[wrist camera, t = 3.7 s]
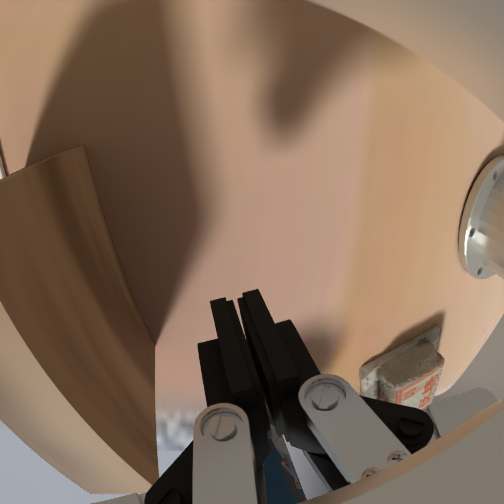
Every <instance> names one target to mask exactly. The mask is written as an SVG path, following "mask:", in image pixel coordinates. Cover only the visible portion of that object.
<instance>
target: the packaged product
mask: <svg viewBox="0 0 504 504" xmlns="http://www.w3.org/2000/svg"><path fill="white" fill-rule="evenodd" d="M440 332H441V327H440V326H439V325H435V326H433V327H432V328H430V329H428V330H427V331H425V332H423V333H422V334H420V335H418V336H416V337H415V338H413V339H411V340H409V341H408V342H406V343H404V344H402V345H401V346H399V347H397V348H396V349H394V350H392V351H390V352H388V353H386V354H384V355H382V356H380V357H379V358H377V359H375V360H373V361H371V362H369V363H367V364H365V365H363V366H361V367H360V368H359V374H360V395H361V396H365V397H369V398H373V399H377V400H382V401H386V402H391V403H395V404H400V405H404V406H409V407H414V408H418V409H421V410H422V409H425V408H427V406H428V405H430V404H431V403H432V400H433V397H434V393H435V391H436V388H437V385H438V381H439V378H440V375H441V371H442V368H443V365H444V358H443V357H442V356H441V354H440V353H438V352H437V348H438V343H439V337H440Z"/></svg>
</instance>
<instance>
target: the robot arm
mask: <svg viewBox="0 0 504 504" xmlns="http://www.w3.org/2000/svg"><path fill="white" fill-rule="evenodd" d="M459 256H460V260H461V264H462V266H463V268H464V269H465V271H467V272H468V273H469V274H470V275H471V276H473V277H474V278H476V279H485V278H489V277H490V276H492V275H494V274H497V275H499V276H500V277H502V278H503V279H504V155H500V156H498V157H496V158H494V159H493V160H492V161H490V162H489V163H488V164H487V165H486V166H485V168H484V169H483V170H482V171H481V173H480V174H479V176H478V178H477V179H476V181H475V183H474V185H473V187H472V189H471V192H470V194H469V196H468V199H467V202H466V205H465V208H464V212H463V216H462V220H461V226H460V232H459ZM242 295H243V297H242V298H238V305H239V309H240V314H241V318H242V323H243V327H244V332H245V336H246V339H245V336H244V333H243V330H242V327H241V324H240V321H239V318H238V315H237V312H236V309H235V306H234V303H233V300H230V301H226V298H225V297H224V298H220V299H216V300H212V301H210V304H211V309H212V314H213V318H214V323H215V327H216V332H217V336H218V339H214V340H210V341H206V342H202V343H198V353H199V360H200V366H201V372H202V378H203V384H204V390H205V396H206V402H207V408H205V409H204V410H203V411H202V412H201V413H200V414H199V415H198V417H197V418H196V420H195V424H194V439H193V441H192V442H191V443H190V444H189V445H188V447H187V448H186V449H185V450H184V451H183V452H182V453H181V455H180V456H179V457H178V458H177V459H176V460H175V461H174V463H173V464H172V465H171V466H170V467H169V468H168V469H167V470H166V471H165V472H164V473H163V475H162V476H161V477H160V478H159V479H158V480H157V481H156V482H155V483H154V484H153V485H152V486H151V487H150V489H149V490H148V492H146V493H143V494H139V495H138V494H137V493H133V494H130V495H126V496H122V497H119V498H114V499H110V500H106V501H102V502H97V503H92V504H268V496H267V488H266V481H265V473H264V466H263V463H264V461H265V460H266V458H267V457H268V455H269V454H270V452H271V450H270V446H269V442H268V439H269V438H272V437H273V436H272V431H271V427H270V422H269V418H268V413H267V409H266V405H267V407H268V410H269V413H270V416H271V419H272V421H273V424H274V427H275V430H276V432H277V435H278V436H279V435H283V434H284V436H285V439H286V441H287V442H290V444H291V446H293V447H296V448H299V449H302V450H303V453H304V455H305V456H306V458H307V459H308V461H309V462H310V464H311V466H312V467H313V469H314V470H315V472H316V473H317V475H318V476H319V478H320V479H321V481H322V482H323V484H324V485H325V487H326V488H327V489H328V491H329V493H327V494H324V495H321V496H318V497H315V498H313V499H309V500H306V501H303V502H300V503H297V504H504V398H503V399H501V400H499V401H497V400H496V398H495V396H494V395H493V394H492V393H491V392H490V391H488V390H487V389H483V388H477V389H473V390H470V391H468V392H465V393H462V394H460V395H457V396H454V397H451V398H448V399H445V400H442V401H439V402H436V403H433V404H430V405H428V406H427V408H425V409H422V410H421V409H418V408H414V407H409V406H404V405H400V404H395V403H391V402H386V401H382V400H377V399H373V398H369V397H365V396H361V395H358V393H357V392H356V391H355V390H354V389H353V388H352V387H351V385H350V384H349V383H348V382H347V381H345V380H344V379H343V378H341V377H339V376H337V375H332V374H320V372H319V370H318V368H317V366H316V364H315V363H314V361H313V359H312V357H311V355H310V354H309V352H308V350H307V348H306V346H305V344H304V343H303V341H302V339H301V337H300V335H299V334H298V332H297V330H296V328H295V326H294V324H293V323H292V321H291V320H290V319H289V320H286V321H282V322H279V323H274V321H273V319H272V317H271V315H270V313H269V311H268V308H267V306H266V304H265V302H264V300H263V298H262V296H261V294H260V292H259V290H258V289H256V290H252V291H248V292H244V293H242ZM246 341H247V342H246ZM265 402H266V404H265Z"/></svg>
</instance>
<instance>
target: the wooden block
mask: <svg viewBox="0 0 504 504" xmlns="http://www.w3.org/2000/svg"><path fill="white" fill-rule="evenodd" d="M0 419H1V420H2V422H3V423H4V424H6V425H7V427H8V428H9V429H10V430H12V431H13V432H14V433H15V434H16V435H17V436H18V437H19V438H20V439H21V440H22V441H23V442H24V443H25V444H27V445H28V446H29V447H30V448H31V449H32V450H33V451H34V452H36V453H37V454H38V455H39V456H40V457H41V458H43V459H44V460H45V461H46V462H48V463H49V464H50V465H51V466H53V467H54V468H55V469H56V470H58V471H59V472H60V473H62V474H63V475H65V476H66V477H67V478H69V479H70V480H71V481H73V482H74V483H75V484H77V485H78V486H80V487H81V488H83V489H84V490H86V491H87V492H89V493H90V494H133V493H146V492H148V490H149V489H150V487H151V486H152V485H153V484H154V483H155V482H156V481H157V480H158V479H159V471H158V458H157V441H156V417H155V345H154V343H153V341H152V339H151V337H150V334H149V332H148V330H147V328H146V326H145V323H144V321H143V319H142V316H141V314H140V312H139V309H138V307H137V305H136V302H135V300H134V297H133V295H132V292H131V290H130V287H129V285H128V282H127V280H126V277H125V275H124V272H123V269H122V267H121V264H120V261H119V259H118V256H117V253H116V250H115V247H114V245H113V242H112V239H111V236H110V233H109V230H108V227H107V224H106V221H105V218H104V214H103V211H102V208H101V205H100V201H99V198H98V195H97V191H96V188H95V184H94V181H93V177H92V173H91V170H90V166H89V162H88V158H87V154H86V150H85V146H84V145H81V146H78V147H75V148H73V149H70V150H67V151H64V152H62V153H59V154H56V155H54V156H51V157H49V158H46V159H44V160H41V161H39V162H36V163H34V164H32V165H29V166H27V167H25V168H23V169H21V170H18V171H16V172H14V173H12V174H10V175H8V176H6V177H4V178H2V179H0Z"/></svg>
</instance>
